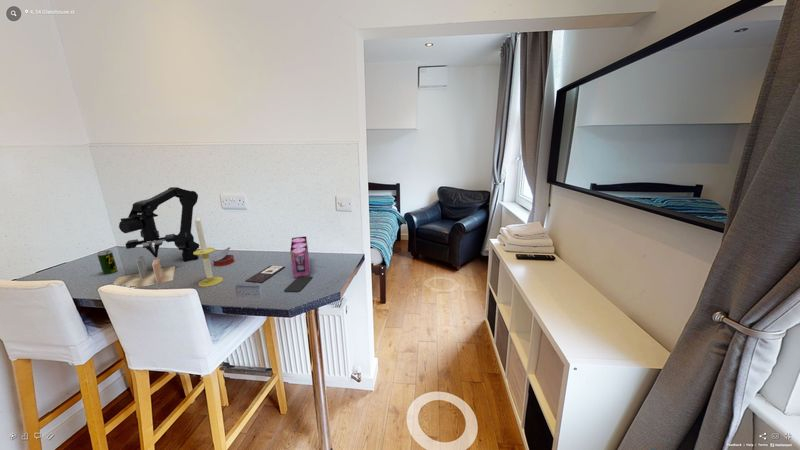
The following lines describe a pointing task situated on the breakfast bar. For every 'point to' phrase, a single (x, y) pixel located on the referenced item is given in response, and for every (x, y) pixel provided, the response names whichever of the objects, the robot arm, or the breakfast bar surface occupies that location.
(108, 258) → the guarana soda can
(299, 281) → the phone
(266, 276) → the chocolate bar
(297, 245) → the gum box
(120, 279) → the oak board
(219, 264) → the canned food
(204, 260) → the candle
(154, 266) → the terracotta tile
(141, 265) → the slate tile
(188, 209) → the robot arm
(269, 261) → the breakfast bar surface
